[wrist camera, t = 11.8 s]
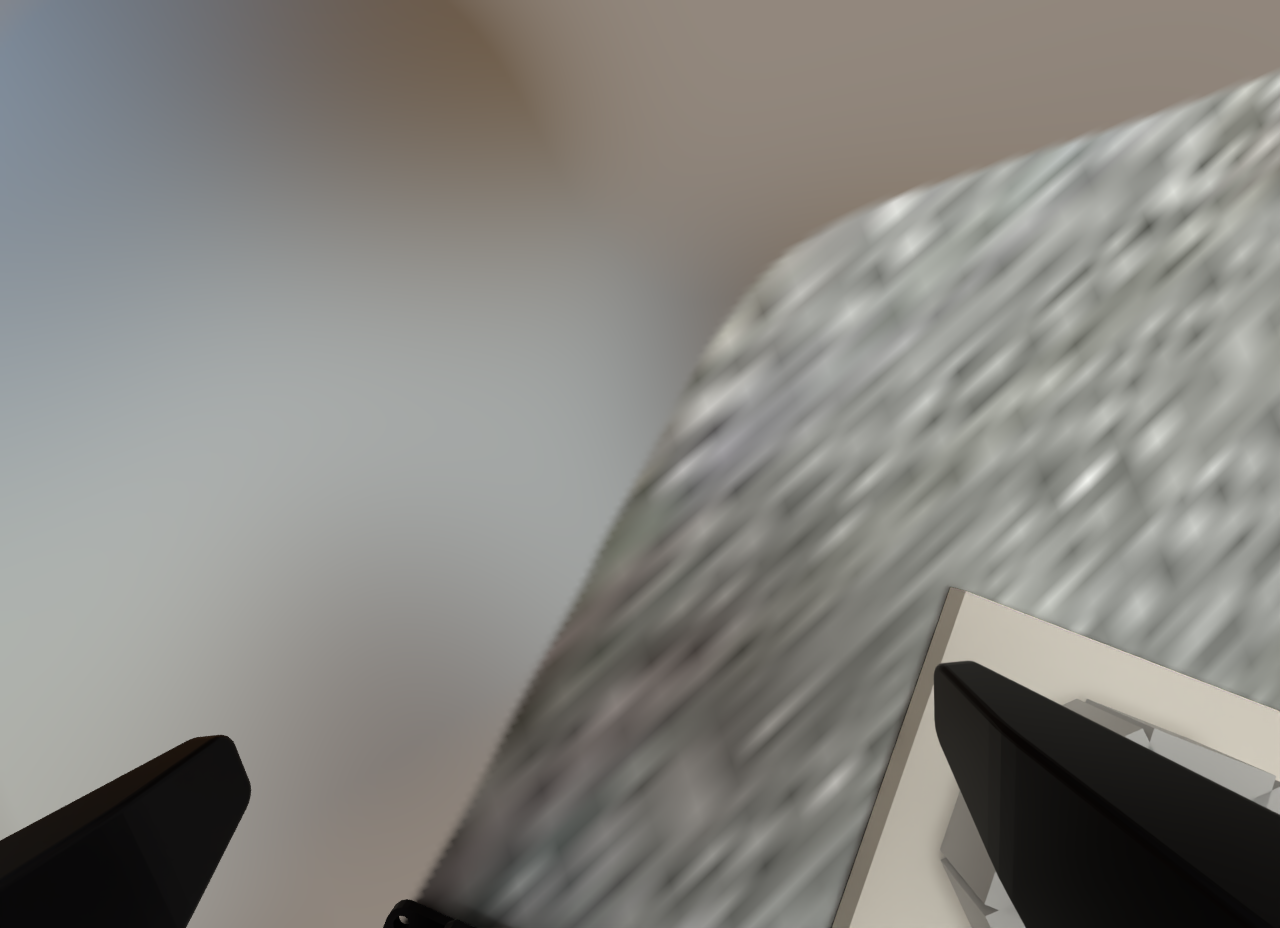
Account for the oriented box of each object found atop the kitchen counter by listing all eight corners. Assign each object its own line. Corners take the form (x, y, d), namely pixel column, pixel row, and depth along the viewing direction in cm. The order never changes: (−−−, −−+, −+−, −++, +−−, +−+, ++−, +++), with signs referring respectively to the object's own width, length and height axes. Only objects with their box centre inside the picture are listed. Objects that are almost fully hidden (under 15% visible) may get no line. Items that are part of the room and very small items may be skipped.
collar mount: (1203, 1107, 18) (1333, 1251, 14) (825, 944, 19) (862, 1043, 15) (1318, 727, 19) (1468, 777, 15) (950, 587, 19) (1012, 603, 16)
